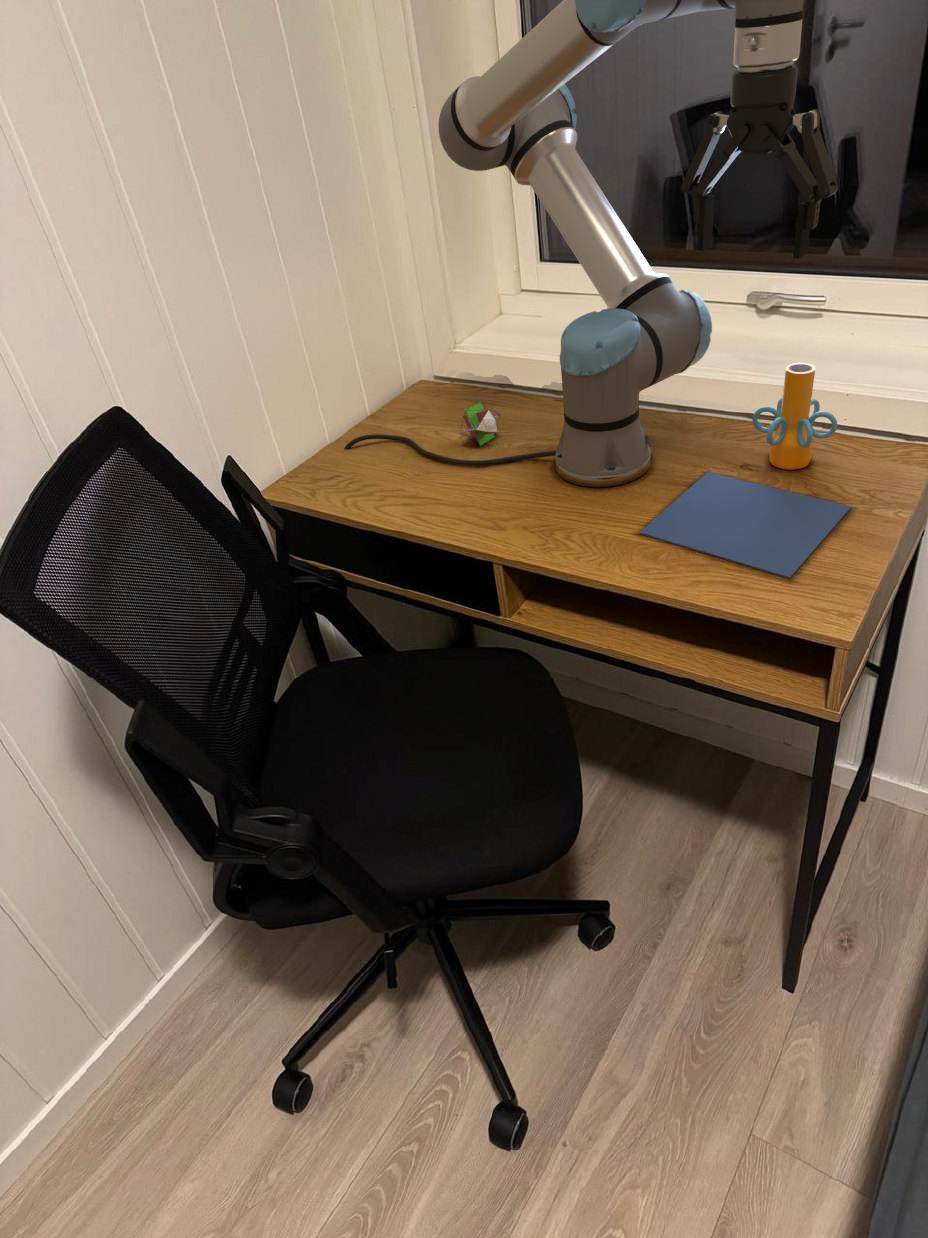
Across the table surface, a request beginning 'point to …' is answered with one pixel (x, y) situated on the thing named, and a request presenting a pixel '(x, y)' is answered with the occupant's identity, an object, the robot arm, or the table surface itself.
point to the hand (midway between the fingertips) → (750, 251)
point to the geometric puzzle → (480, 423)
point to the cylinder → (794, 420)
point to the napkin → (747, 523)
